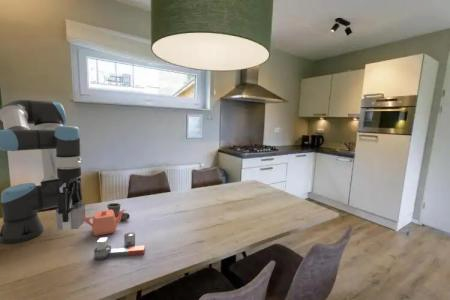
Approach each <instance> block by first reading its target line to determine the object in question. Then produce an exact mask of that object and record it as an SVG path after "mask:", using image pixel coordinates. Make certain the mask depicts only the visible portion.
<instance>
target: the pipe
mask: <svg viewBox="0 0 450 300" xmlns="http://www.w3.org/2000/svg"><path fill="white" fill-rule="evenodd" d="M106 207H107V210H113V211H114V214H115V217H116V218H117V217H118V216H119V213H120V211H121V203H118V202H113V203H111V202H110V203H108V204H107V205H106ZM129 219H130V213H129V212H123V213H122V216H121V220H122V221H123V220H124V221H127V220H129ZM121 220H120V221H121Z"/></svg>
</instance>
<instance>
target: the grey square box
mask: <svg viewBox="0 0 450 300" xmlns="http://www.w3.org/2000/svg"><path fill="white" fill-rule="evenodd" d="M70 212H71V223H72V229H71V230H78V229H79V228H80V227H81V226H82V225H83V224H84V223H86V222H85V220H86V219H85V218H86V202H85V201H83V202H71V203H70ZM55 215H56V230H63V225H62V214H58V207H56V209H55Z"/></svg>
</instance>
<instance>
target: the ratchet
mask: <svg viewBox="0 0 450 300" xmlns="http://www.w3.org/2000/svg"><path fill="white" fill-rule="evenodd" d="M108 238H109V237H99V238H98V239H97V241H96V248H95V249H94V250H93V256H94V257H93V258H94V260H95V261H104V260H107V259H109V258H117V257H118V258H119V257H133V256H144V255H145V252H146V245H135V246H130V247H129V248H125V247H119V248H118V247H117V248H112V246H111V245H109V243H108V241H109V239H108Z"/></svg>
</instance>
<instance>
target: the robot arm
mask: <svg viewBox="0 0 450 300" xmlns="http://www.w3.org/2000/svg"><path fill="white" fill-rule="evenodd" d="M0 121H1V122H2V124H3V125H2V126H3V129H0V151H3V152H15V151H16V152H18V151H21V152H22V151H33V150H35V151H36V150H40V151H41V162H42V171H43V178H42V179H41V180H40V185H36V183H34V182H26V183H19V184H16V185H12V186H9V187H8V188H7V187H6V188H5V189H4V190H2V192H1V193H0V203H1V209H2V210H1V211H2V221H3V222H2V226H1V228H0V243H2V244H16V243H21V242H25V241H28V240H31V239H33V238H36V237H38V236H39V235H41V234H42V233H43V232H44V224H43V222H41V220H40V217H39V216H38V211H42V210H47V209H51V208H58V214H62V225H63V229H62V230H65V231H67V230H73V229H72V223H71V212H70V203H71V202H84V201H83V194H82V184H81V183H82V178H81V177H82V167H81V165H82V164H81V163H82V162H81V161H82V158H81V143H80V142H81V134H80V128H79V127H78V126H74V125H66V124H67V116H66V111H65V109H64V105H63V104H62V103H61V102H59V101H58V102H56V101H51V100H48V101H44V100H32V99H30V100H29V99H16V100H12V101H10V102H7V103H5V104H3V105H1V107H0ZM29 125H34V127H33V128H34V129H31V128H30V126H29Z"/></svg>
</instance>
